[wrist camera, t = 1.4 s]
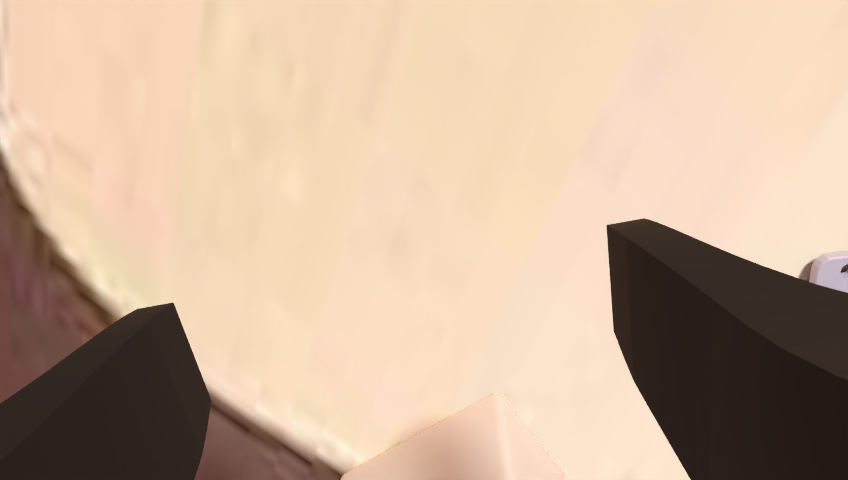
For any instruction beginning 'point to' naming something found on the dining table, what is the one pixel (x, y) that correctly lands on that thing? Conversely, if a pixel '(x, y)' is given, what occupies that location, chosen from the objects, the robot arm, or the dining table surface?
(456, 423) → the medicine bottle
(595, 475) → the dining table surface
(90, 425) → the robot arm
